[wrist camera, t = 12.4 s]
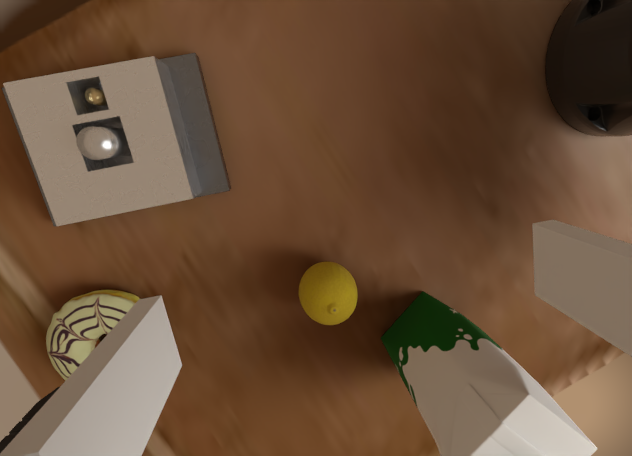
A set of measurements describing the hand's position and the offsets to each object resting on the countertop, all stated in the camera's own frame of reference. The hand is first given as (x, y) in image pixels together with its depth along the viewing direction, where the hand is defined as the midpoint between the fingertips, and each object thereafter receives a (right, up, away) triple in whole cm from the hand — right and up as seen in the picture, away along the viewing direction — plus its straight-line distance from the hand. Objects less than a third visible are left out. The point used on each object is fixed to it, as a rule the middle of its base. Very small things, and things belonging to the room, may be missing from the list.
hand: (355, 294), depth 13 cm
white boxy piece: (-18, +10, +20) cm, 29 cm away
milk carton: (+11, -9, +30) cm, 33 cm away
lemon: (-1, -3, +27) cm, 27 cm away
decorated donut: (-22, -8, +26) cm, 35 cm away
